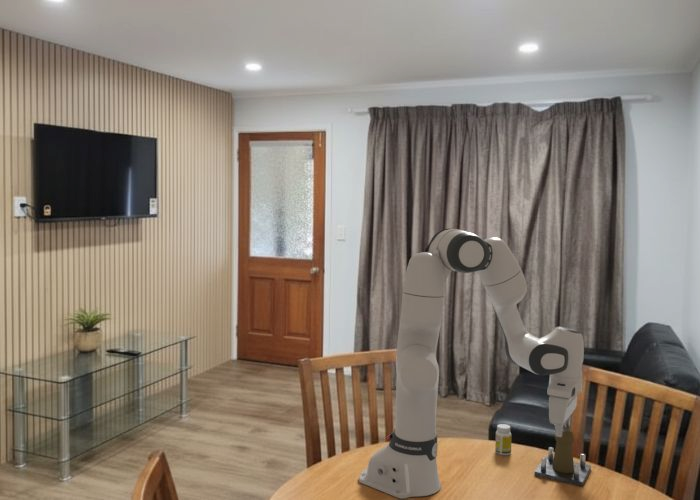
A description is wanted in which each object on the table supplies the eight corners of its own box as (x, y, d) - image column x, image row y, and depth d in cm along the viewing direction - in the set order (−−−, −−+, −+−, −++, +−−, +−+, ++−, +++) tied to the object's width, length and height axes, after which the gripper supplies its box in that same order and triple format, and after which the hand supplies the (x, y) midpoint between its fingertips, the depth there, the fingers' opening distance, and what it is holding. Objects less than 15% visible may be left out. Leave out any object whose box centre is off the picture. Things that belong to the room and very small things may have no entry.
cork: (575, 473, 174) (577, 435, 173) (553, 471, 175) (554, 433, 174) (572, 464, 180) (573, 428, 179) (550, 463, 181) (552, 426, 180)
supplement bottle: (513, 451, 192) (513, 425, 191) (508, 456, 188) (509, 430, 188) (498, 448, 195) (498, 422, 194) (493, 453, 191) (493, 426, 190)
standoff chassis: (534, 475, 175) (534, 459, 175) (545, 459, 186) (545, 444, 186) (582, 486, 168) (583, 469, 168) (590, 469, 180) (591, 453, 179)
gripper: (561, 373, 186) (559, 418, 187) (545, 390, 169) (543, 439, 170) (583, 377, 183) (581, 422, 184) (569, 394, 165) (566, 444, 166)
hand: (562, 431), depth 177 cm, fingers open, 8 cm apart
